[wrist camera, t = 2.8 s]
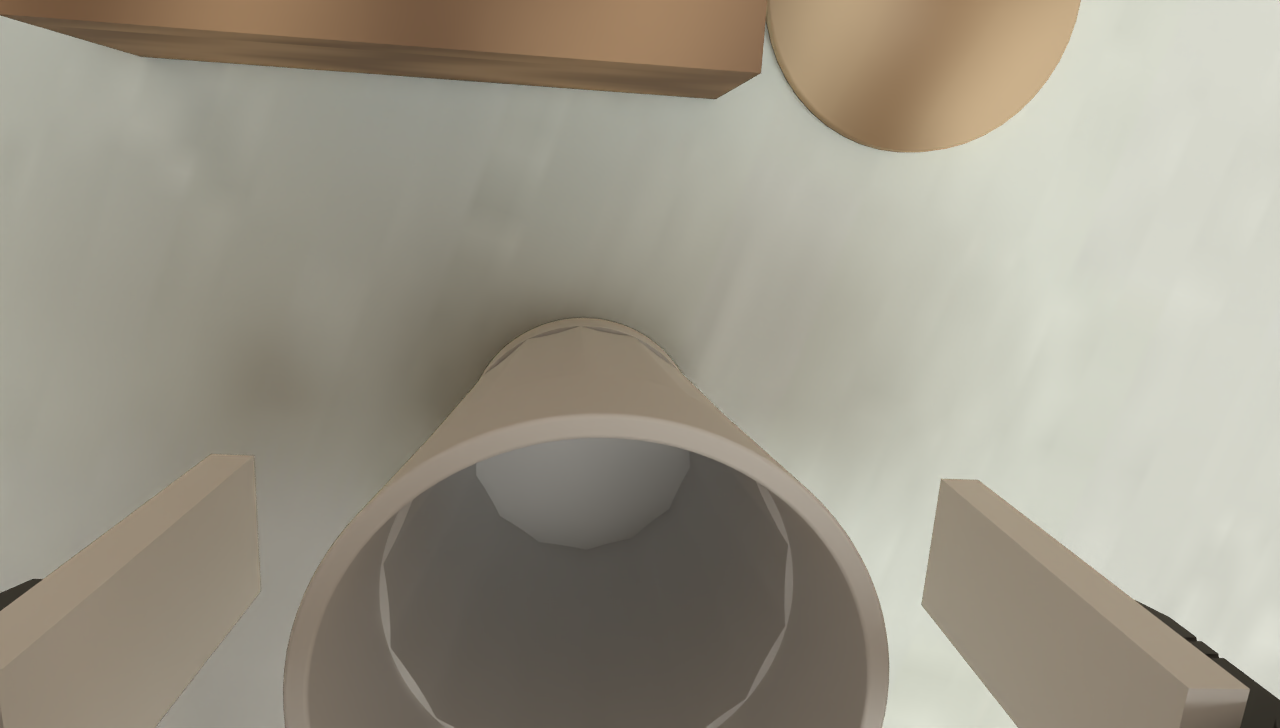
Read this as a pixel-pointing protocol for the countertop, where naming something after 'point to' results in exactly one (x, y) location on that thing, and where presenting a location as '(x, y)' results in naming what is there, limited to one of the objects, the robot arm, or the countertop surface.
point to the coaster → (918, 64)
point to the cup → (589, 567)
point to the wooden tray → (441, 38)
